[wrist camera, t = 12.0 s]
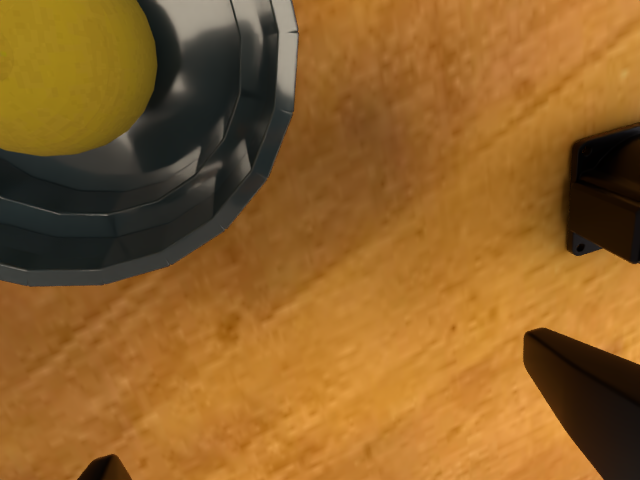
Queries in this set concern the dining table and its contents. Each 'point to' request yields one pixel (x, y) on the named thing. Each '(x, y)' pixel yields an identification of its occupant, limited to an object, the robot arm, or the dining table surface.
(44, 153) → the lemon
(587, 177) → the robot arm
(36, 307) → the dining table surface
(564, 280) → the dining table surface
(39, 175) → the grey pet bowl
